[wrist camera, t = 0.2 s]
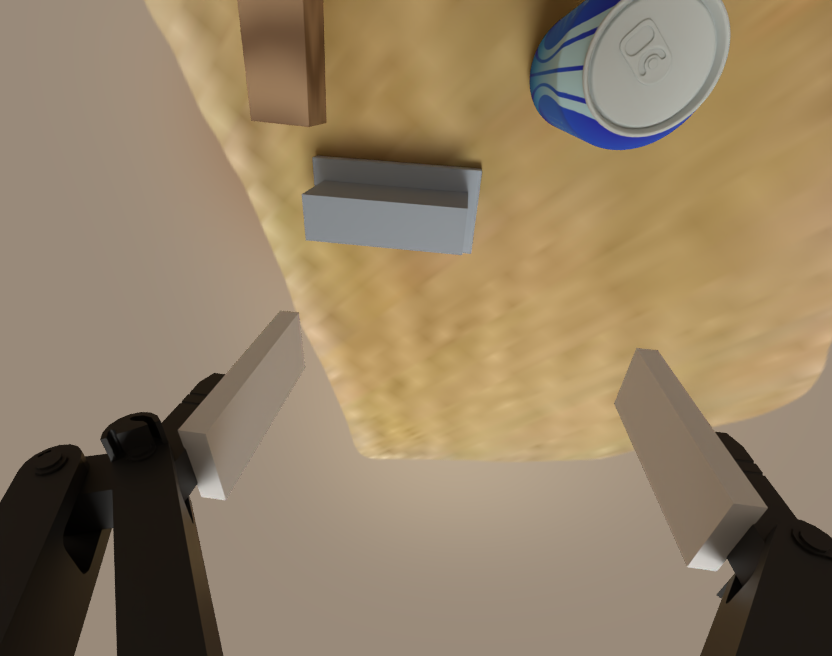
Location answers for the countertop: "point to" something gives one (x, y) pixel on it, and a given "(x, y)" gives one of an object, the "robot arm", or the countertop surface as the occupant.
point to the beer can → (629, 68)
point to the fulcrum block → (392, 204)
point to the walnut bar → (284, 60)
